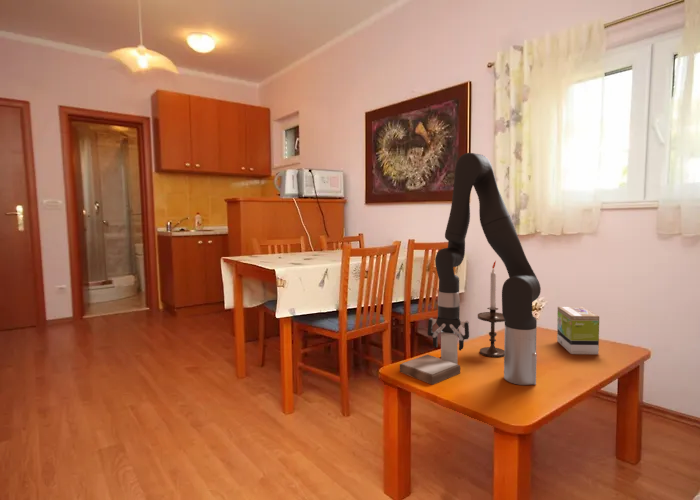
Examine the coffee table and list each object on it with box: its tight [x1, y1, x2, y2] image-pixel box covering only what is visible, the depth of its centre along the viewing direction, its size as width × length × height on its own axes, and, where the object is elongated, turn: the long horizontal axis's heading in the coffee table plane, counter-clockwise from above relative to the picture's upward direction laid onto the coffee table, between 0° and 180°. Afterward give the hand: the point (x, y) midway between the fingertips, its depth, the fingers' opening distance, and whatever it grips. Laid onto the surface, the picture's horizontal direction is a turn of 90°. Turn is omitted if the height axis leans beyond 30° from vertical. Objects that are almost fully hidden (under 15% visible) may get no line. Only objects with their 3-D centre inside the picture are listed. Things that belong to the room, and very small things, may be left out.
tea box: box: [556, 306, 600, 355], centre depth 160 cm, size 15×10×15 cm, turn 172°
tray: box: [399, 354, 461, 386], centre depth 139 cm, size 14×14×3 cm
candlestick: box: [477, 260, 505, 358], centre depth 155 cm, size 11×11×35 cm
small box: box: [440, 331, 458, 364], centre depth 149 cm, size 8×6×10 cm
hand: (447, 348), depth 149 cm, fingers open, 8 cm apart
